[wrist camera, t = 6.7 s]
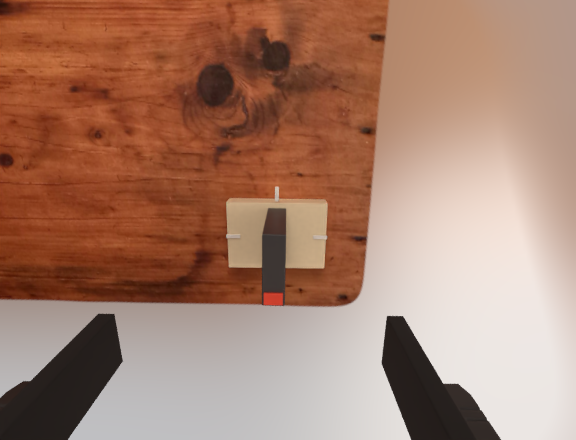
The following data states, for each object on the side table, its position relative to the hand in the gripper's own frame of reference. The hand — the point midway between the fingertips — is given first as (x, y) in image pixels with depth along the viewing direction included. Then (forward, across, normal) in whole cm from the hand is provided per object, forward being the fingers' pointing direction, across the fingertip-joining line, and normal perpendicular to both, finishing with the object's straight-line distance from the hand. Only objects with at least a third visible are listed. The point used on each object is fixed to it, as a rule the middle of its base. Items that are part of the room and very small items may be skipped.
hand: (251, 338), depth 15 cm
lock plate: (+19, +1, -1) cm, 19 cm away
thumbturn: (+17, +1, -1) cm, 17 cm away
